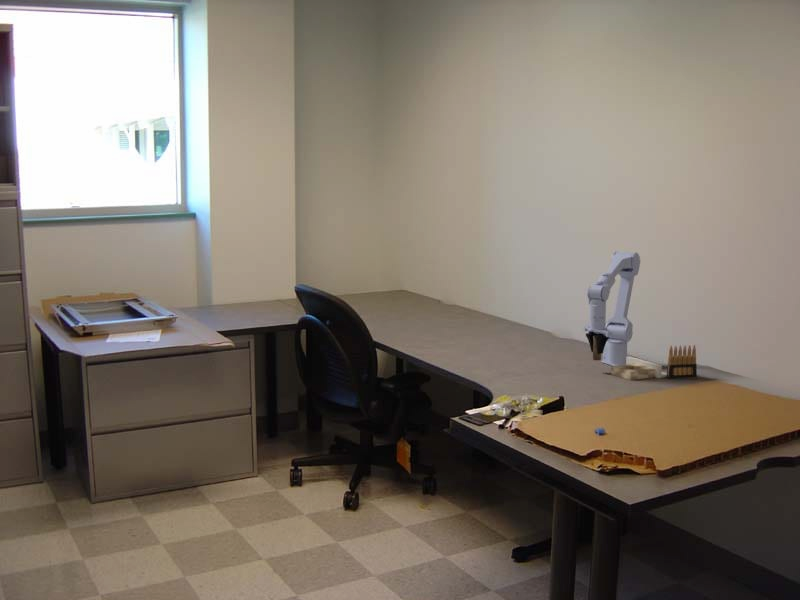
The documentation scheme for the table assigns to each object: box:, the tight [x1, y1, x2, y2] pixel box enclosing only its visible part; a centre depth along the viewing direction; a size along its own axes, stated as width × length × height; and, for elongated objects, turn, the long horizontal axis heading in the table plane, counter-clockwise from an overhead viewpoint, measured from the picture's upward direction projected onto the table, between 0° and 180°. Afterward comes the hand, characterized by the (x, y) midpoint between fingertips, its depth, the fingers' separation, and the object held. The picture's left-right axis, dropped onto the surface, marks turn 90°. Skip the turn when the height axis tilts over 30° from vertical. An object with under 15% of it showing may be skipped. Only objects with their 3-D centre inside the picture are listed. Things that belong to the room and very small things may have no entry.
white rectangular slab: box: [626, 356, 667, 379], centre depth 322 cm, size 18×6×4 cm, turn 24°
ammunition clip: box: [666, 344, 698, 380], centre depth 312 cm, size 11×2×12 cm, turn 97°
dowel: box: [592, 336, 602, 361], centre depth 321 cm, size 3×3×9 cm
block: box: [610, 363, 656, 381], centre depth 317 cm, size 11×11×3 cm
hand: (597, 352), depth 322 cm, fingers closed on dowel, 3 cm apart
